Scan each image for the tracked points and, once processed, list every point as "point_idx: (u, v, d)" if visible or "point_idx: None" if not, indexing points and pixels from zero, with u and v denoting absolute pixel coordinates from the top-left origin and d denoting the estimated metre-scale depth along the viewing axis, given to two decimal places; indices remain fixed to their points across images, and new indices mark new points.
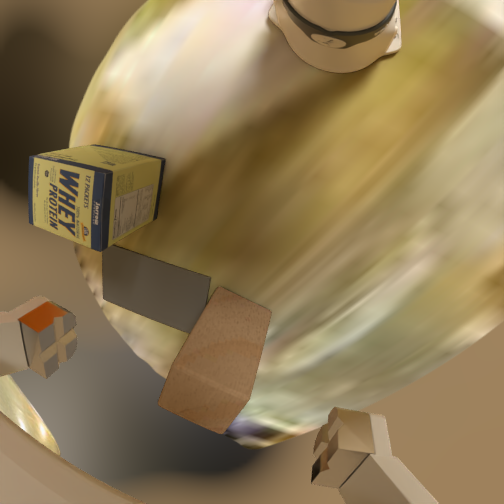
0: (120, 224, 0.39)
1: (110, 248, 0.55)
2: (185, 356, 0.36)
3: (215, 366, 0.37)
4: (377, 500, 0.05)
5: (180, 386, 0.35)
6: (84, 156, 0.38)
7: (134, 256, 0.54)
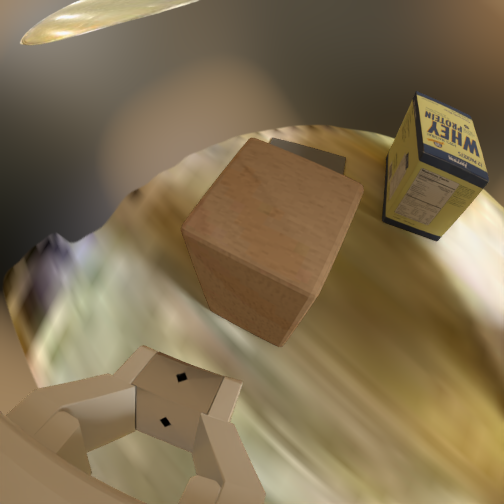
0: (428, 181, 0.35)
1: (340, 163, 0.50)
2: None
3: None
4: (206, 467, 0.05)
5: (320, 183, 0.22)
6: None
7: None
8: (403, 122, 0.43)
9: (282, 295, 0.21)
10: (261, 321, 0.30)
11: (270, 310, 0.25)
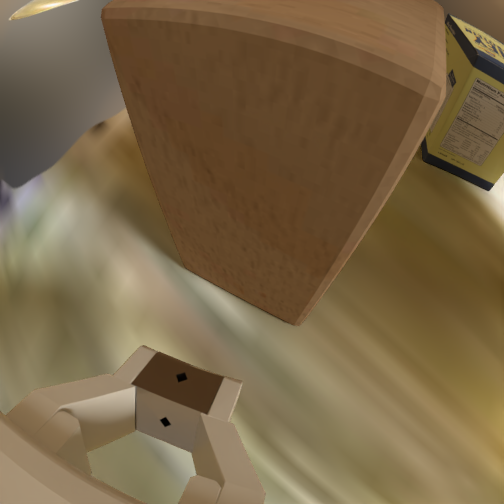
0: (484, 97, 0.21)
1: None
2: None
3: None
4: (207, 467, 0.05)
5: None
6: None
7: None
8: None
9: (337, 124, 0.07)
10: (269, 266, 0.16)
11: (292, 217, 0.11)
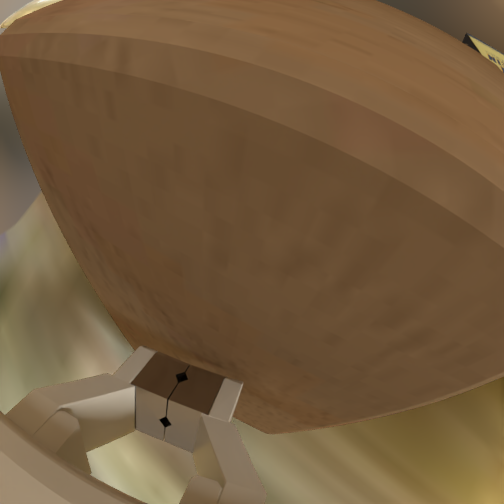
0: None
1: None
2: None
3: None
4: (207, 467, 0.05)
5: (429, 27, 0.06)
6: None
7: None
8: None
9: (414, 336, 0.03)
10: (243, 401, 0.11)
11: (284, 387, 0.07)
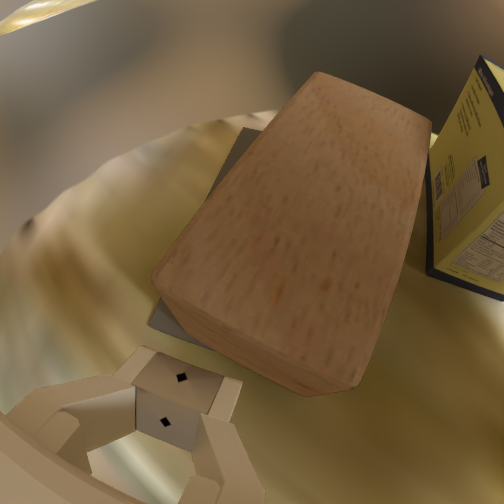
0: None
1: None
2: None
3: None
4: (206, 467, 0.05)
5: None
6: None
7: None
8: (458, 105, 0.23)
9: (407, 121, 0.19)
10: (359, 207, 0.15)
11: (389, 155, 0.17)
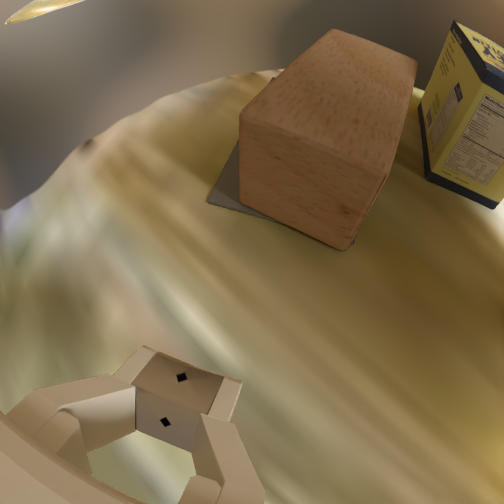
0: (493, 115, 0.20)
1: None
2: None
3: None
4: (207, 467, 0.05)
5: None
6: None
7: None
8: (440, 59, 0.28)
9: (399, 58, 0.24)
10: (371, 92, 0.20)
11: (387, 72, 0.22)
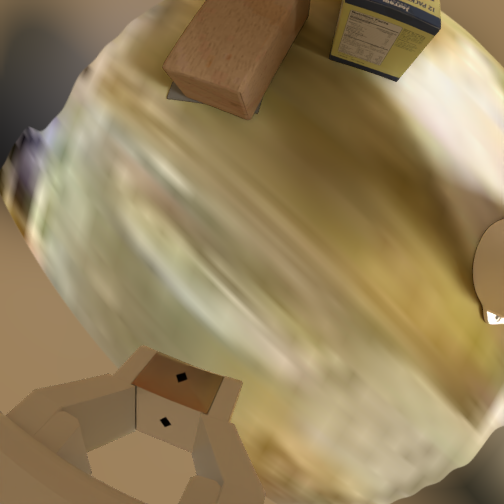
0: (364, 22, 0.26)
1: None
2: (304, 21, 0.35)
3: (303, 10, 0.32)
4: (207, 467, 0.05)
5: None
6: None
7: None
8: None
9: None
10: (248, 26, 0.28)
11: (271, 0, 0.27)
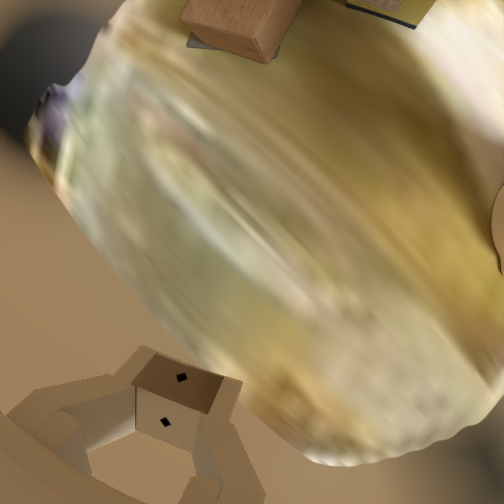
0: None
1: None
2: None
3: None
4: (206, 467, 0.05)
5: None
6: None
7: None
8: None
9: None
10: None
11: None
